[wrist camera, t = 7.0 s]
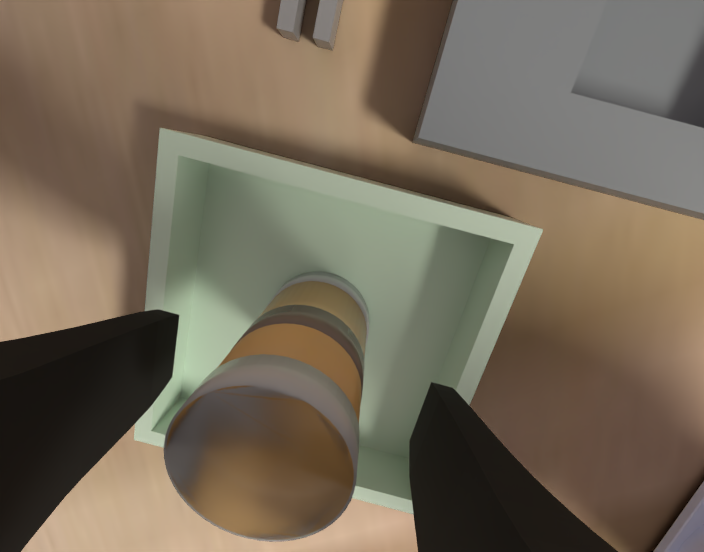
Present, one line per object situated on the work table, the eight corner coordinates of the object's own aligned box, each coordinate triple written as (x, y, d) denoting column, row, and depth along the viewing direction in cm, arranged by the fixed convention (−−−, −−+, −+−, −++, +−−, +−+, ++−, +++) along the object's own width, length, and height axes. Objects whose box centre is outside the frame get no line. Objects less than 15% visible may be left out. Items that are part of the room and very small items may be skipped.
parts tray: (512, 217, 12) (543, 229, 10) (416, 463, 16) (422, 516, 13) (202, 135, 12) (159, 127, 10) (171, 398, 16) (133, 439, 13)
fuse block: (968, -100, 9) (1127, -173, 7) (763, 235, 12) (838, 249, 10) (515, -221, 9) (552, -325, 7) (412, 142, 12) (418, 137, 10)
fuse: (383, 291, 13) (385, 425, 6) (350, 375, 14) (321, 564, 7) (286, 256, 13) (183, 353, 6) (260, 343, 14) (149, 506, 7)
